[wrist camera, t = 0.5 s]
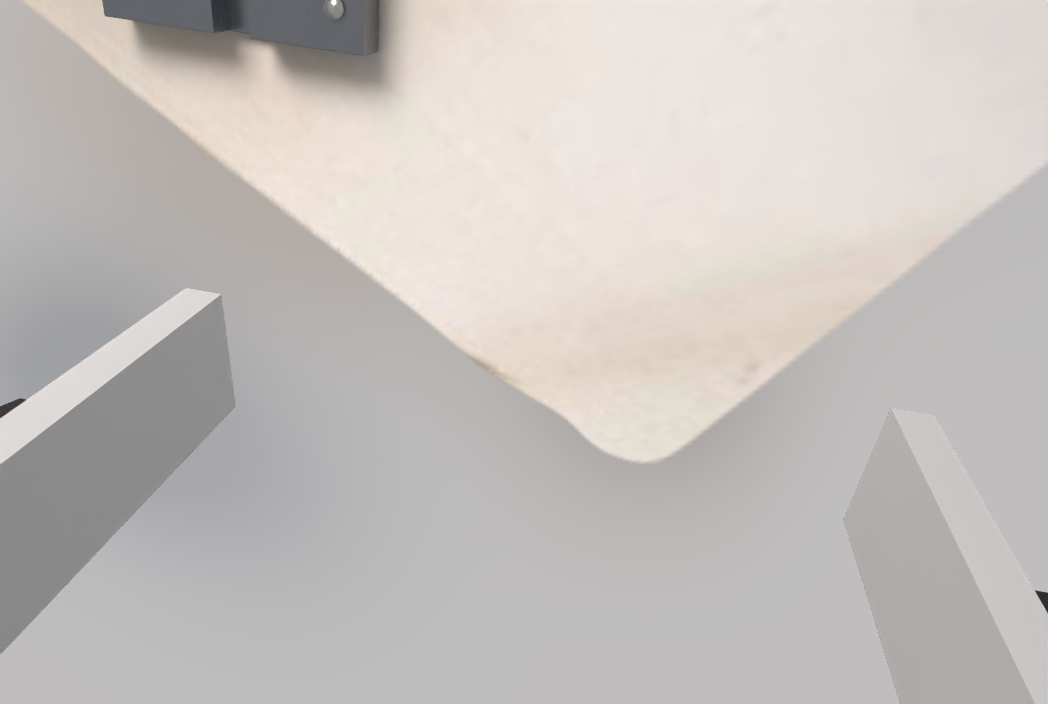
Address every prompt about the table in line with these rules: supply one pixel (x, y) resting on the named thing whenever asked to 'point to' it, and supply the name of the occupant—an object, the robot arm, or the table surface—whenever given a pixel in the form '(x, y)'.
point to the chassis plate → (266, 20)
